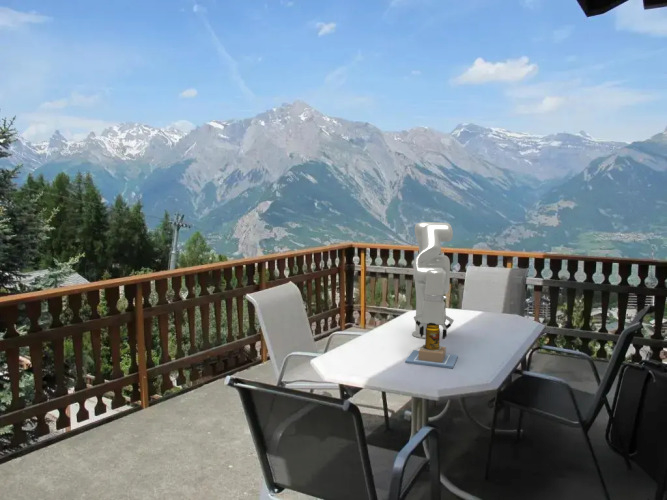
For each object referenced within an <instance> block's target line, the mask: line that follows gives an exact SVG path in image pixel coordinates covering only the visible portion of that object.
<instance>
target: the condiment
mask: <svg viewBox="0 0 667 500" xmlns="http://www.w3.org/2000/svg"><path fill="white" fill-rule="evenodd" d="M440 331H441V328H440V325H437V324H435V323H429V324H427V327H426V338H424V341H425V343H424V344H423V345H422V346H420V347H418V350H420V349H425V350H430V351H439V350H440V349H441V348H442V347H443V346H441V347H439V346H440V340H441V339H440V336H441V335H440V334H441V332H440Z"/></svg>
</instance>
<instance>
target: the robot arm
mask: <svg viewBox="0 0 667 500" xmlns="http://www.w3.org/2000/svg"><path fill="white" fill-rule="evenodd" d="M414 235H415V238H416V240H417V244H418V253H417V255H416V256H415V258H414V260H413V267H412V268H413V272H412V273H413V279H414V288H415V297H416V298H415V316H413V319H414V321H415V331H412V333H411V334H412V336H413V337H415V338H420V339H426V327H427V324H429V323H435V324H437V325H439V326H441V327H442V337H441V338H442V340H445V339H446V338H447V333H448V332H447V331H448V329H449V328H450V327H451V326H452V324H453V322H454V321H455V320H454V319H453V318H452V317H450V316H448V315H447V313H446V312H447V311H446V302H445V301H444V300H447V296H445V295H446V294H448V293H449V292H450V277H451V276H450V275H451V272H450V271H451V262H450V258H449V257H448V256H447V255H444V254H441V252H442V247H441V243H442V242H444V243H445V242H448V243H449V242H451V241H452V240H453V236H454V232H453V228H452V225H451V224H450V223H448V222H437V221H436V222H432V221H424V222H423V221H421V222H418V223H416V224H415V226H414ZM446 321H448V324H446Z"/></svg>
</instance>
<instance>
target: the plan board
mask: <svg viewBox="0 0 667 500" xmlns="http://www.w3.org/2000/svg"><path fill="white" fill-rule="evenodd" d="M439 347H442V348H441V349H440V350H439V351H430V350H425V349H418V350H416V349H413V350H412V352H411V353H410V354H409V355H408V357H407V358H406V359H405V361H404V363H405V364H410V365H418V366H426V367H427V366H428V367H434V368H443V369H450V368H452V369H454V367H455V365H456V363H457V360H458V358H459V354H452V353H446V351H447V347H446V346H441V345H439ZM455 362H456V363H455ZM452 369H451V370H452Z"/></svg>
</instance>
